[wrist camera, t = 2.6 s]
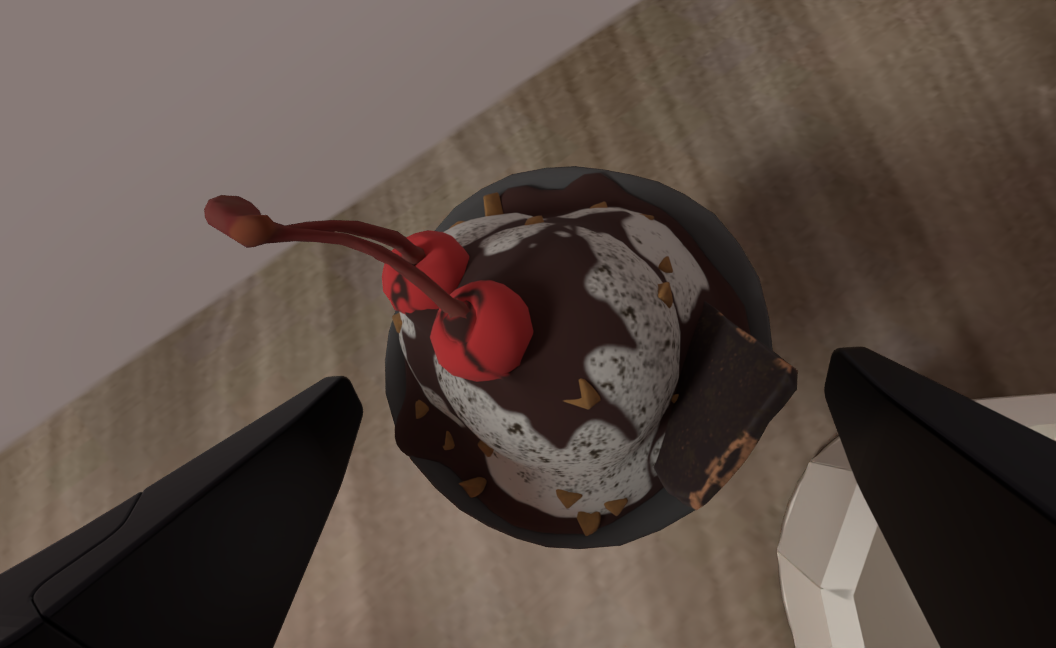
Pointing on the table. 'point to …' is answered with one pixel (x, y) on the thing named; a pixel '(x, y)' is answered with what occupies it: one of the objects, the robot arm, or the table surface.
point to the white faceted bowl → (859, 552)
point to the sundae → (567, 351)
